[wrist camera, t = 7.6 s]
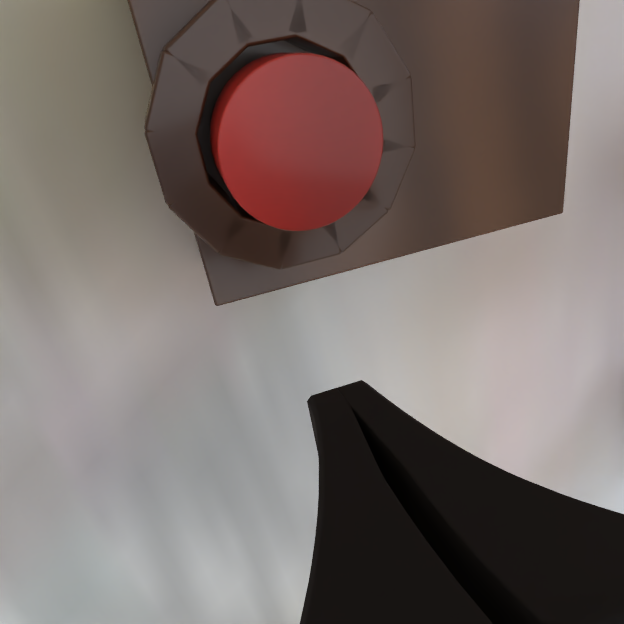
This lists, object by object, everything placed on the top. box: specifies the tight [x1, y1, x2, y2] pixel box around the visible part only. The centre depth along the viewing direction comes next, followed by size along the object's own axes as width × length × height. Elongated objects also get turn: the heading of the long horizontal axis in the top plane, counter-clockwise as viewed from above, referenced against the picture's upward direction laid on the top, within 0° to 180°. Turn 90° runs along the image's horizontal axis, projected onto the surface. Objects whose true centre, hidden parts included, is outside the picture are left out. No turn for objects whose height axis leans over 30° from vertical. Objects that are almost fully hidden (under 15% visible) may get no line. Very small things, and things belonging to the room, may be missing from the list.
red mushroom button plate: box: [128, 0, 580, 306], centre depth 16 cm, size 13×10×6 cm
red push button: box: [210, 53, 383, 231], centre depth 13 cm, size 4×4×2 cm
